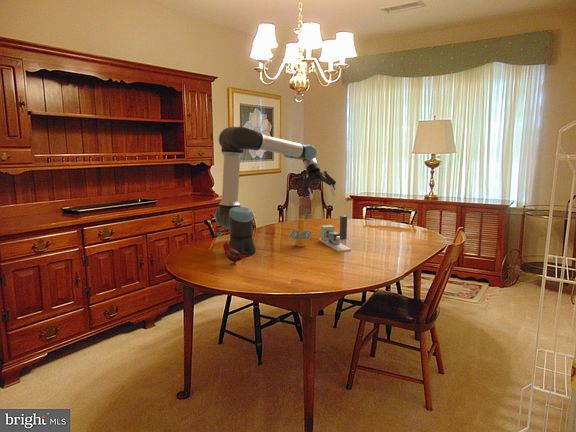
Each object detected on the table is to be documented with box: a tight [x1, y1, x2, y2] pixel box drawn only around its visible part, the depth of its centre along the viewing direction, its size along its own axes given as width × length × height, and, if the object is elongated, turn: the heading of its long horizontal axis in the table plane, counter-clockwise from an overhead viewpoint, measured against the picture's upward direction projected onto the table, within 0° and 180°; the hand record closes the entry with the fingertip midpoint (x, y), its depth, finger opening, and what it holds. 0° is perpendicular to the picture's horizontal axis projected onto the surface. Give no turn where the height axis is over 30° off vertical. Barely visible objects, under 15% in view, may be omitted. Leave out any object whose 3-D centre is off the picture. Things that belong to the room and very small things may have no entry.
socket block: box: [320, 224, 336, 241], centre depth 245 cm, size 5×6×8 cm
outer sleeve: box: [328, 231, 341, 245], centre depth 236 cm, size 7×4×6 cm, turn 17°
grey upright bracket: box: [334, 215, 348, 245], centre depth 230 cm, size 17×3×15 cm, turn 17°
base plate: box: [318, 238, 352, 253], centre depth 236 cm, size 28×8×1 cm, turn 17°
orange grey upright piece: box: [290, 218, 312, 248], centre depth 234 cm, size 12×10×15 cm
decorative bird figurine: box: [222, 242, 250, 266], centre depth 196 cm, size 3×18×10 cm, turn 51°
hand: (323, 197), depth 236 cm, fingers open, 13 cm apart
